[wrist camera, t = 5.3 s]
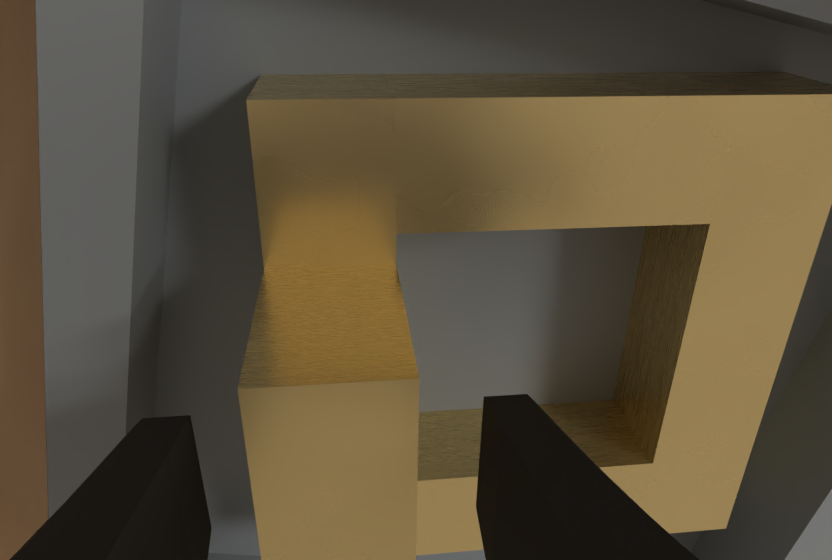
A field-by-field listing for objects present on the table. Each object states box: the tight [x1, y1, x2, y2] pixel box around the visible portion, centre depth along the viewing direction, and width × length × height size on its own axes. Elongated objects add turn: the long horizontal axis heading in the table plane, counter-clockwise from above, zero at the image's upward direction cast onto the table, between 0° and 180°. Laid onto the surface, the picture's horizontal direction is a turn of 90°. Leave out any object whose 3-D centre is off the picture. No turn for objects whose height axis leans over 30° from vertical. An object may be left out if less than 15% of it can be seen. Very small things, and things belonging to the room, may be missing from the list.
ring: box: [238, 72, 832, 560], centre depth 11 cm, size 9×9×5 cm
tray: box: [36, 0, 832, 560], centre depth 13 cm, size 16×16×3 cm
